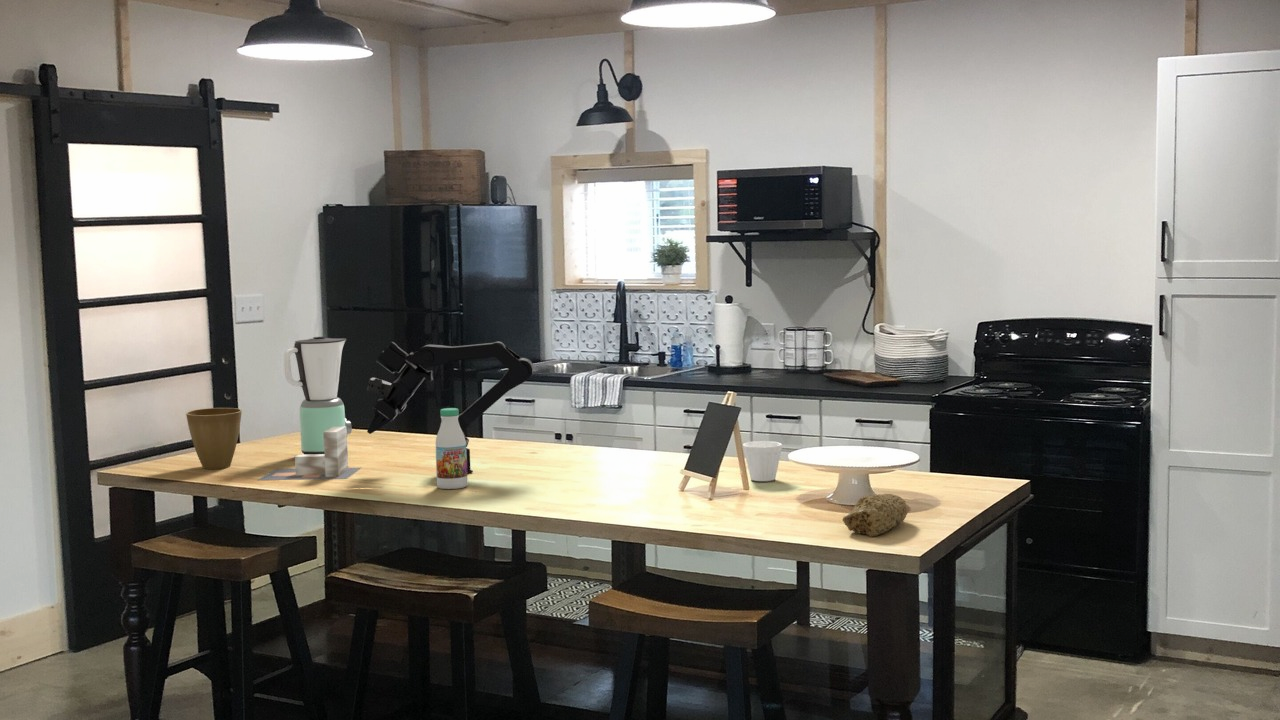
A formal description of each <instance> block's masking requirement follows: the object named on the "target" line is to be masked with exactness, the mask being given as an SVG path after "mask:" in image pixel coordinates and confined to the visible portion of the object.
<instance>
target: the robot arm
mask: <svg viewBox="0 0 1280 720" xmlns="http://www.w3.org/2000/svg"><path fill="white" fill-rule="evenodd" d="M487 358H495V359H497V361H499V362H500V363H501V364H502V365H503V366H504V367H505V368H506V369H507V371H506V372H505V374H504V375H503V376H502V378H500V379H499V381H497V382H496V383H495V384H494V385H493V386H492V387H490V388H489V390H487V391H486V392H484V394H483V395H481V396H480V397H478V399H477V400H476V401H475V402H473V403H472V404H471V405H470V406H468V407H467V409H465V410H464V411H463V412H461V413H459V417H458V422H459V425H460V428H461V430H462V432H463V434H465V431H467V429H468V428H469V427H470V425H471V424H473V422H474V421H476V420H477V419H478V418H479V417H480V416H482V415H483V414H484V413H485V412H486V411H487V410H489V408H491V407H492V406H493V405H494V404H495V403H496V402H497V401H499V400H500V399H501V398H502V397H503V396H504V395H506V394H507V393H508V392H509V391H511V390H513V389H515V388H516V387H519V386H520V385H522V384H523V383H525V382H527V381H528V380H529V379H531V377H532V376H533V373H534V364H533V362H532V360H531V359H529V358H527V357H521V356H519V354H517V353H516V352H514V351H513V350H511V348H508V347H507V345H505V343H503V342H502V341H495V342H488V343H478V344H477V343H476V344H468V345H457V346H455V345H454V346H451V345H450V346H449V345H442V344H429V343H428V344H426V345H424V346H421V347H420V348H419V350H418V351H415V352H413V351H411V352H410V353H407V352H406V351H405V350H403V349H402V348H400V347H399V346H398V344H397V343H395V342H394V341H391V342H390V344H389V345H388V346H387V347H385V350H382V352H381V353H380V355H379V356H378V357H377V359H376V363H377V364H379V365H381V367H383V368H384V369H386V370H387V371H389V372H390V373H391V374H395V373H397V374H399V373H401V374H400V375H399V377H397V379H396V380H394V381H393V382H392V383H391V382H389V381H386V380H383V379H381V378H380V379H379V378H377V377H371V378H369V381H368V383H367V389H366V391H367V392H374V393H376V394H380V395H382V396H381V397H382V398H379V399H377V400H376V402H375V403H374V404H373V405H372V410H373V413H374V415H373V418H372V420H371V422H370V424H369V426H368V428H367V431H366V432H367V433H368V434H369V435H371V434H372V433H374V432H376V431H378V430H379V429H381V428H383V427H384V426H385V425H388V424H389V423H390V422H392V421H394V419H395V418H396V417H397V416H399V415H400V414H402V413H403V412H404V410H405V409H406V408H407V407H408V405H407V403H408V401H409V400H410V398H411V397H413V395H414V394H415V392H416V391H417V389H418V388H419V387H420V385H422V383H423V382H424V381H425V379H426V380H427V381H428V382H432V381H433V380H434V377H433V370H427V369H425V368H433V367H436V366H439V365H444V364H447V363H451V362H456V361H465V360H466V361H467V360H475V359H477V360H478V359H487ZM415 364H419V365H417V366H416V365H415ZM406 365H407V366H406ZM404 367H405V368H404ZM403 369H404V370H403ZM402 370H403V371H402ZM401 371H402V372H401ZM440 426H441V423H440V424H439V427H440ZM438 432H439V429H438V430H437V432H436V435H437V434H438ZM464 436H465V441H466V455H467V474H471V473H473V470H472V469H471V450H470V449H471V448H468V445H469V442H470V439H469V438H468V437H467V436H466V435H464Z"/></svg>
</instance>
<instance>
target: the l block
mask: <svg viewBox="0 0 1280 720" xmlns="http://www.w3.org/2000/svg"><path fill="white" fill-rule="evenodd" d="M323 434H324V454H296V456H295V457H294V465H295V468H294V469H296V475H326V477H339V476H340V475H342V474H343V473H344V472H346V471H347V470H348V468H349V454H348V452H349V451H348V434H347V429H346V426H341V427H332V428H330V429H328V430H327V431H325V432H323Z"/></svg>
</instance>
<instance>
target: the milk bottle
mask: <svg viewBox="0 0 1280 720" xmlns="http://www.w3.org/2000/svg"><path fill="white" fill-rule="evenodd" d="M439 410H440V411H439V412H440V418H441V419H440V421H441V422H440V424H441V426H439V429H438V430H439V432H438V431H437V432H438V434H437V433H436V438H435V468H436V469H435V470H436V486H437V488H438V489H442V490H458V489H463V488H466V487H467V486H468V484H469V483H468V473H467V455H466V448H467V447H466V441H465V436H466V435H465V433H463V432H462V430H461V428H460V425H459V422H458V417H459V415H460V413H459V411H460V410H459V408H457V407H446V408H441V409H439Z"/></svg>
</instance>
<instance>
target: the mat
mask: <svg viewBox="0 0 1280 720" xmlns="http://www.w3.org/2000/svg"><path fill="white" fill-rule="evenodd" d="M361 469H362V467H348V470H347V471H346V472H344V473H343V474H342V475H340V476H339V477H326V475H296V469H295V468H276V469H274V470H272V471H270V472H269V473H267V474H266V475H264V476H261V477H260V478H258V479H257V481H292V480H293V481H299V480H301V481H302V480H304V481H305V480H347V479H349V478H350V477H351V476H353V475H354V474H356V473H357V472H358V471H359V470H361Z"/></svg>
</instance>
